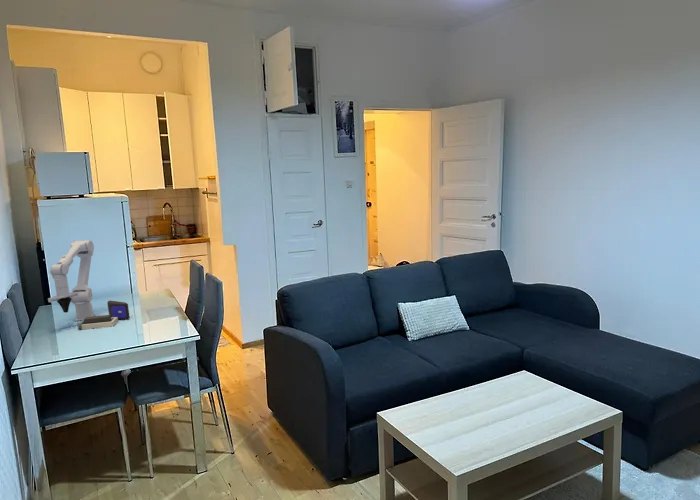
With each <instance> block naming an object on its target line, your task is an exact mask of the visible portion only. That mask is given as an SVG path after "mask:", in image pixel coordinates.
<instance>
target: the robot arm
mask: <svg viewBox="0 0 700 500" xmlns="http://www.w3.org/2000/svg"><path fill="white" fill-rule="evenodd" d="M94 245H95V244H94V243H93V241H92V240H91V239H88V240H86V239H85V240H73V241H72V242H71V243H70V249H69V251H68V252H67V253H66V254H63V255H61V257H60V259H59V260H58V261H57V263H55V264H52V265H51V266H50V269H49V273H50V274H51V277H52V279H53V281H54V287H55V292H56V293H55V294H56V295H55V296H51V297H48V298H47V302H48V303H53V302H57V303H58V305H59V307H60V308H61V310H62V312H63V313H65V314H66V313H69V309H70V305H71V303H72V304H73V305H74V308H75V315H76V318H75V319H74V322H81V321H83V320H84V319H85V318H86V317H93V316H96V314H95V313H94V312H93V304H92V300H93V289H92V288H91V287H89V285H88V284H89V278H90V271H91V270H90V269H91V261H92V257H93V255H94V249H95V246H94ZM75 257H78V258H79V259H80V262H79V268H78V276H77V282H76V286H74V287H73V288H71V292H70V289H69V281H68V276H67V274H68V273H69V269H70V266H71V265H72V264H73V262H74V258H75Z"/></svg>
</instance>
